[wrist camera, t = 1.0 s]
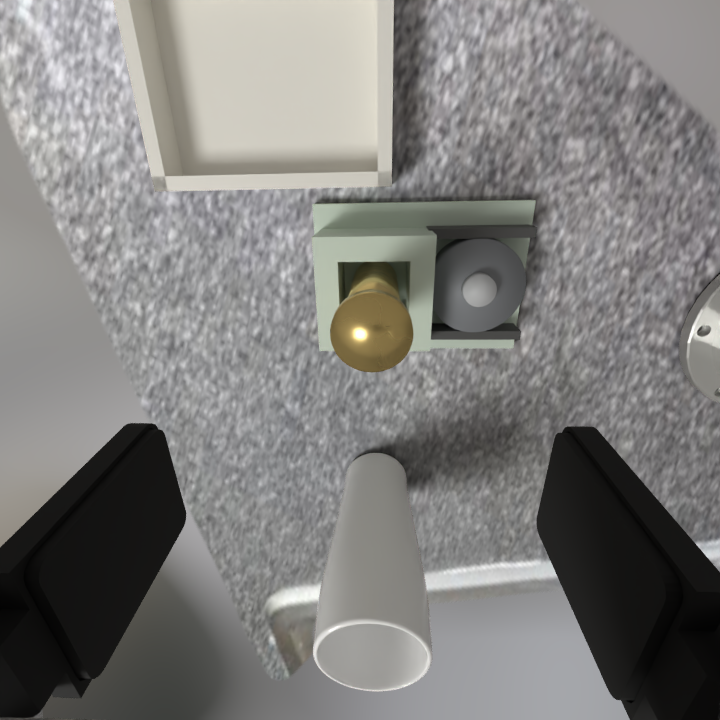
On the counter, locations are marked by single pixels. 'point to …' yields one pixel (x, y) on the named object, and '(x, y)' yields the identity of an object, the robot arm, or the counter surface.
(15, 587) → the robot arm
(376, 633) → the drinking glass
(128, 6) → the tray
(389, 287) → the pin
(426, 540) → the counter surface
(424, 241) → the green socket holder
